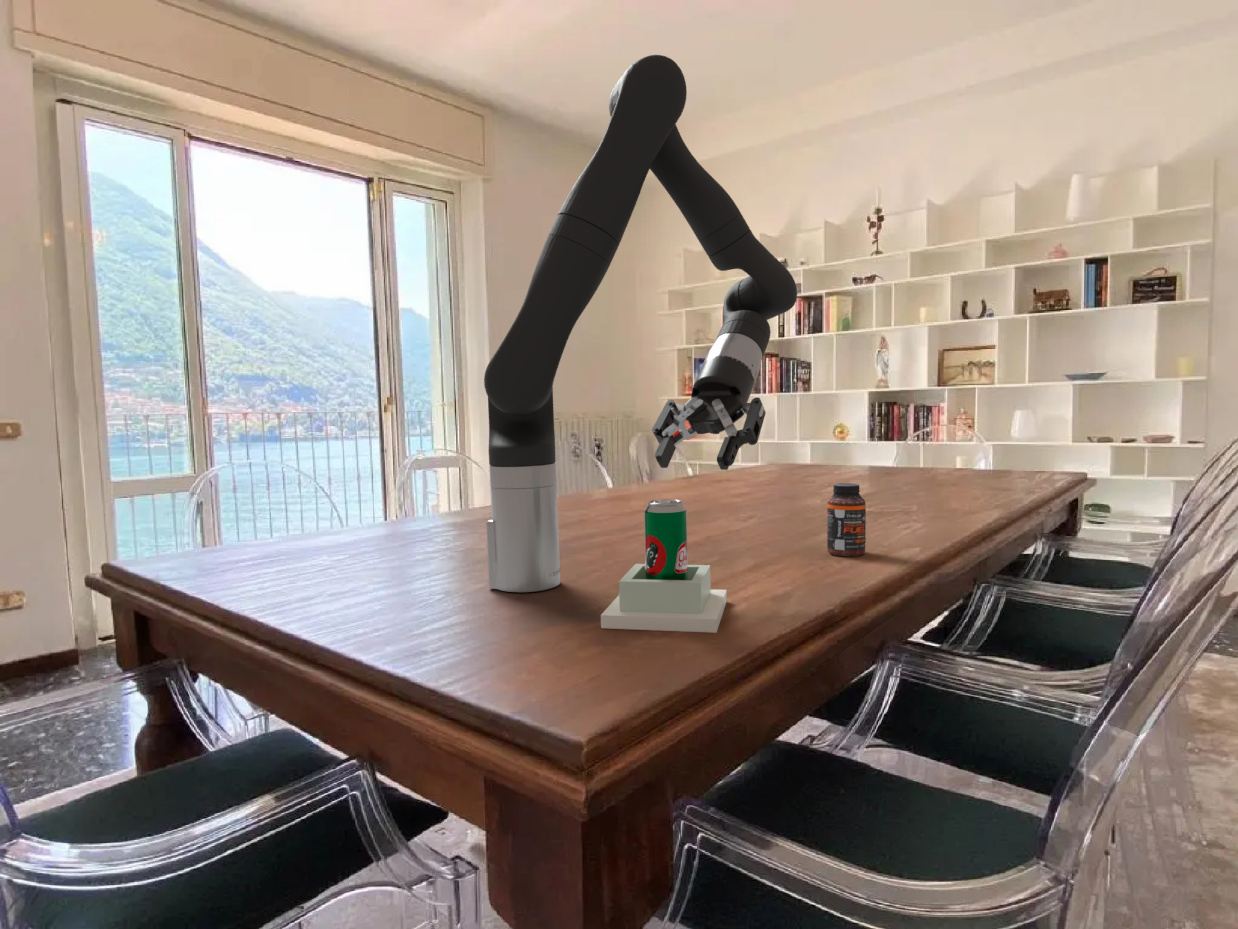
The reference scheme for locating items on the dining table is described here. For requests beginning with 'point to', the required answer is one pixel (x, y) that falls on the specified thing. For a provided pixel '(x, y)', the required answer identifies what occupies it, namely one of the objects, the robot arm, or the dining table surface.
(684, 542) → the soda can
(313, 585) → the dining table surface
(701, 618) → the socket holder
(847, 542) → the supplement bottle
